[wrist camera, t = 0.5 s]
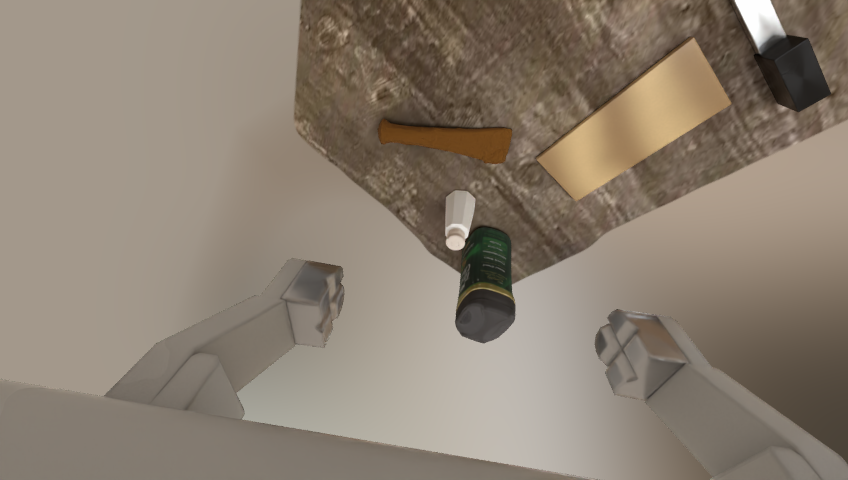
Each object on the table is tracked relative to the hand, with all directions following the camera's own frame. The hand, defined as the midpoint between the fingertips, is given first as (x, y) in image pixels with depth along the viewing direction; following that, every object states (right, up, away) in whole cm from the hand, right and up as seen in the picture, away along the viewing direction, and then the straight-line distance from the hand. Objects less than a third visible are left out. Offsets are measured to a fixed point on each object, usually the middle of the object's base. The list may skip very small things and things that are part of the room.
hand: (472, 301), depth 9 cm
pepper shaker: (+5, +8, +43) cm, 44 cm away
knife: (+34, +24, +23) cm, 48 cm away
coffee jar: (+10, +1, +48) cm, 49 cm away
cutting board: (+25, +16, +31) cm, 43 cm away
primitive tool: (+2, +18, +35) cm, 40 cm away
